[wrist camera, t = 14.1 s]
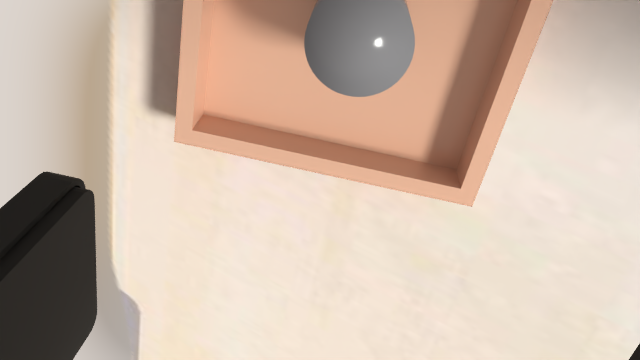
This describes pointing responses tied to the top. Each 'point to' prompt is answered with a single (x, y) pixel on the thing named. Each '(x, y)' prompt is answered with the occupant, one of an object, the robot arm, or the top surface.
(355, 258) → the top surface
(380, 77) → the gray metal cylinder
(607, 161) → the top surface
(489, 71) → the terracotta dish
